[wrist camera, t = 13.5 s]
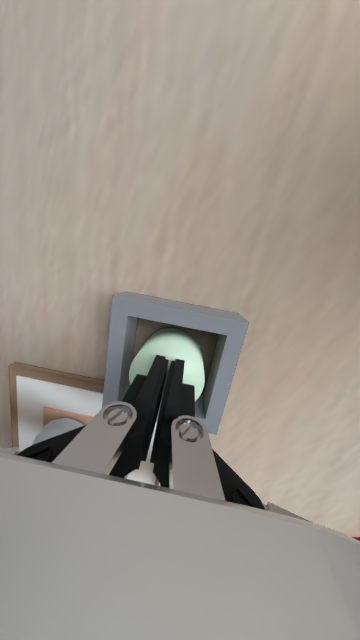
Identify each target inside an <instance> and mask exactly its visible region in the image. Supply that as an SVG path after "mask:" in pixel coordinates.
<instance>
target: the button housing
mask: <svg viewBox="0 0 360 640" xmlns="http://www.w3.org/2000/svg"><path fill="white" fill-rule="evenodd" d="M138 318H142V319H147V320H152V321H157V322H162V323H167V324H172V325H177V326H182V327H187V328H192V329H197V330H202V331H207V332H212V333H217V334H219V336H218V340H217V343H216V347H215V351H214V355H213V359H212V363H211V367H210V371H209V375H208V379H207V383H206V387H205V391H204V395H203V396H202V395H200V396H199V398H198V399H197V400H196V401H195V418H197V419H198V420H200V421H201V422H202V423H203V424H204V425H205V427H206V429H207V431H208V433H211V434H216V435H217V431H218V428H219V424H220V421H221V417H222V414H223V410H224V407H225V404H226V400H227V397H228V393H229V390H230V386H231V383H232V379H233V376H234V373H235V369H236V366H237V362H238V359H239V355H240V352H241V348H242V345H243V341H244V338H245V335H246V331H247V328H248V324H249V322H248V321H247V320H245V319H244V318H243V317H242V316H241V315H240V314H239V313H234V312H229V311H224V310H218V309H213V308H208V307H203V306H198V305H193V304H188V303H183V302H178V301H173V300H168V299H162V298H157V297H152V296H147V295H142V294H137V293H132V292H124V293H121V294H117V295H114V296H113V297H112V308H111V318H110V329H109V339H108V350H107V360H106V370H105V381H104V391H103V402H102V408H103V407H104V406H106V405H108V404H110V403H113V402H122V400H123V398H124V396H125V394H126V393H127V391H128V389H129V387H130V381H129V370H130V366H131V363H132V358H133V351H134V343H135V336H136V328H137V321H138ZM158 415H159V412H158ZM157 420H158V416H157ZM157 420H156V422H157Z"/></svg>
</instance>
